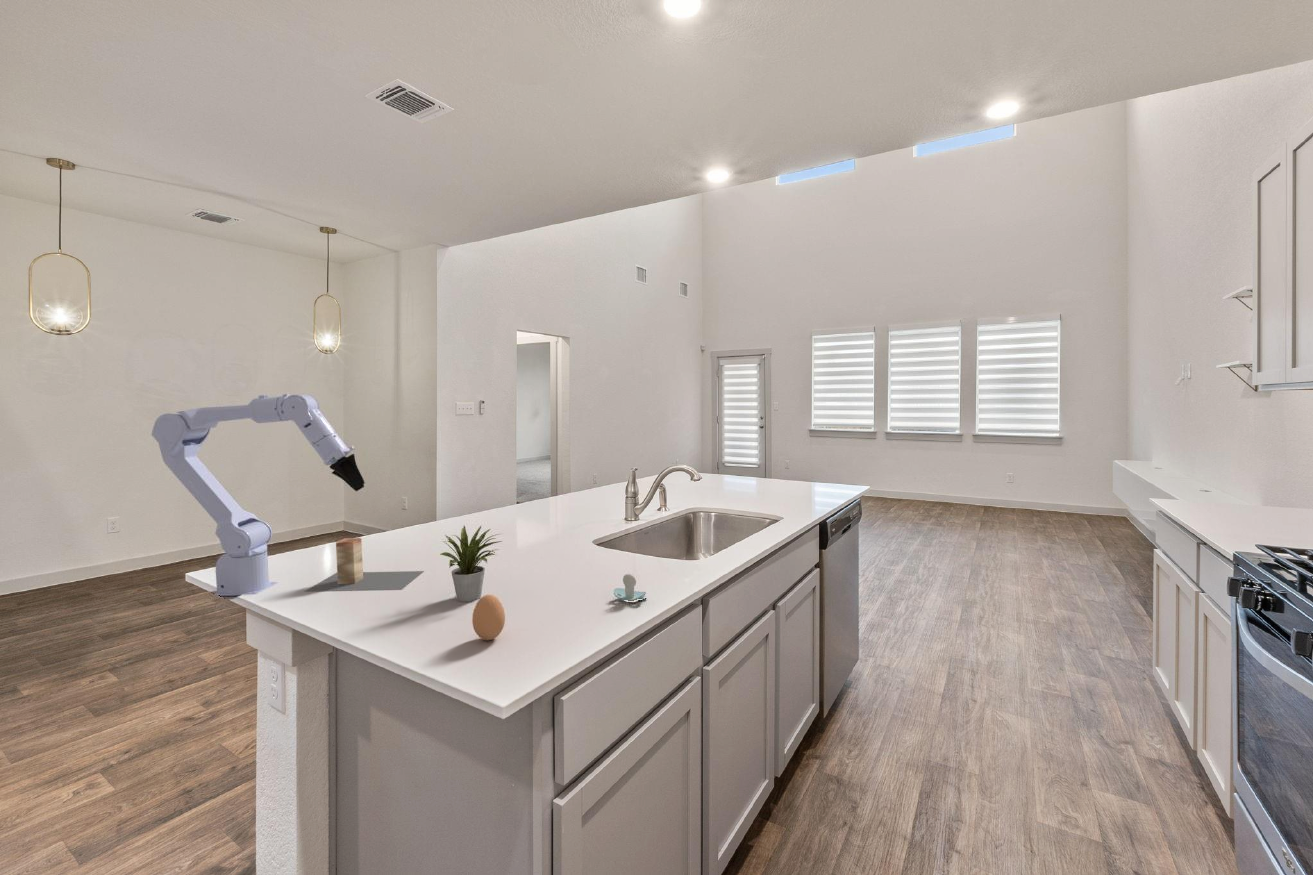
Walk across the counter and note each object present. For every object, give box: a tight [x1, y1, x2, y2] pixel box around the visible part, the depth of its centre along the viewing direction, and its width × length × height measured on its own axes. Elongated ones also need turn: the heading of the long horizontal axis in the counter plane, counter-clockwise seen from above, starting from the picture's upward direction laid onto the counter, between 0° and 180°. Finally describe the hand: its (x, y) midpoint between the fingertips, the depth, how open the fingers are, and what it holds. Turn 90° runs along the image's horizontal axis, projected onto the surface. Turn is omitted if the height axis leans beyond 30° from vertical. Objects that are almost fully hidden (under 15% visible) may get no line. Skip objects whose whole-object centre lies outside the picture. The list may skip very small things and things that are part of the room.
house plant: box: [439, 524, 503, 603], centre depth 124 cm, size 14×14×16 cm
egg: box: [471, 594, 506, 641], centre depth 103 cm, size 6×6×8 cm
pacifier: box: [613, 573, 647, 601], centre depth 123 cm, size 7×6×6 cm
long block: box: [335, 537, 364, 584], centre depth 136 cm, size 4×4×10 cm
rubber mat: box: [303, 570, 425, 593], centre depth 136 cm, size 22×14×1 cm, turn 92°
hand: (360, 487), depth 133 cm, fingers open, 7 cm apart
